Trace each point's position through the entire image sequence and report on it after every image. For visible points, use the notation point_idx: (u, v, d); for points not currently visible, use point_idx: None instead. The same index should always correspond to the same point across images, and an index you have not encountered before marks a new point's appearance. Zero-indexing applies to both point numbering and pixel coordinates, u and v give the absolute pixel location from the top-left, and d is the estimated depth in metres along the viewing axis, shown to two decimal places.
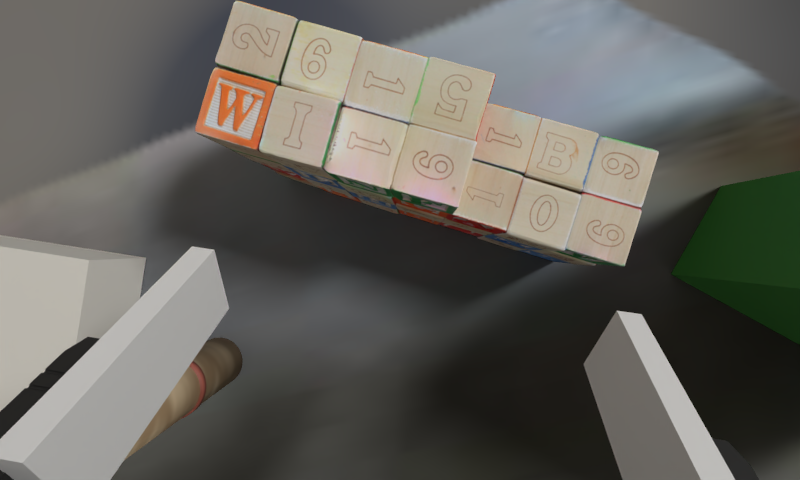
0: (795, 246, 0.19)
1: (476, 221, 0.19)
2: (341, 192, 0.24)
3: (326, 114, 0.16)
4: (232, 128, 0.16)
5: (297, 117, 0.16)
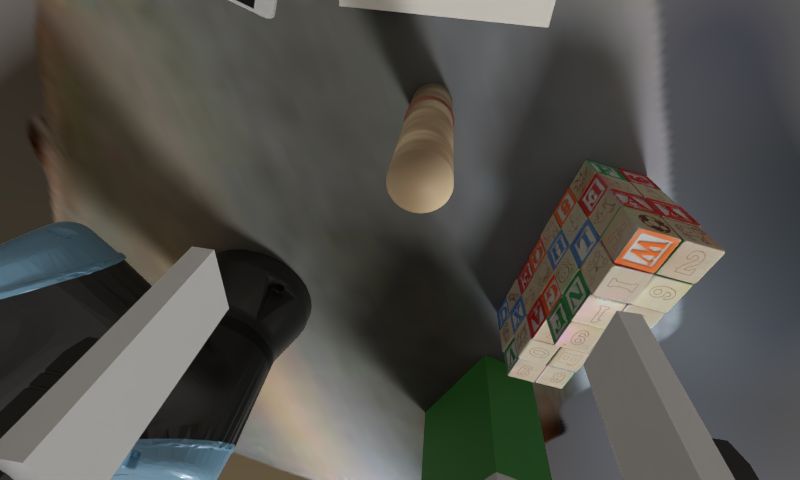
0: (506, 413, 0.45)
1: (540, 328, 0.34)
2: (567, 226, 0.34)
3: (624, 298, 0.27)
4: (633, 248, 0.25)
5: (627, 285, 0.27)
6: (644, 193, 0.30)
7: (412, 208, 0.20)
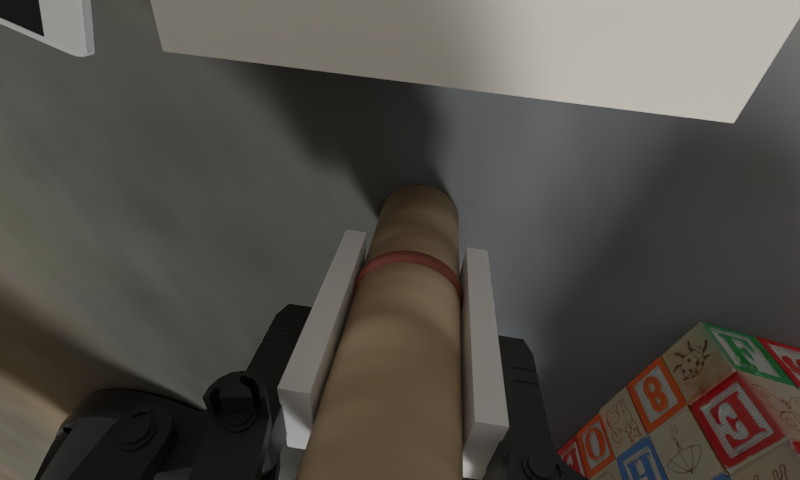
0: None
1: None
2: (665, 444, 0.18)
3: None
4: None
5: None
6: None
7: None
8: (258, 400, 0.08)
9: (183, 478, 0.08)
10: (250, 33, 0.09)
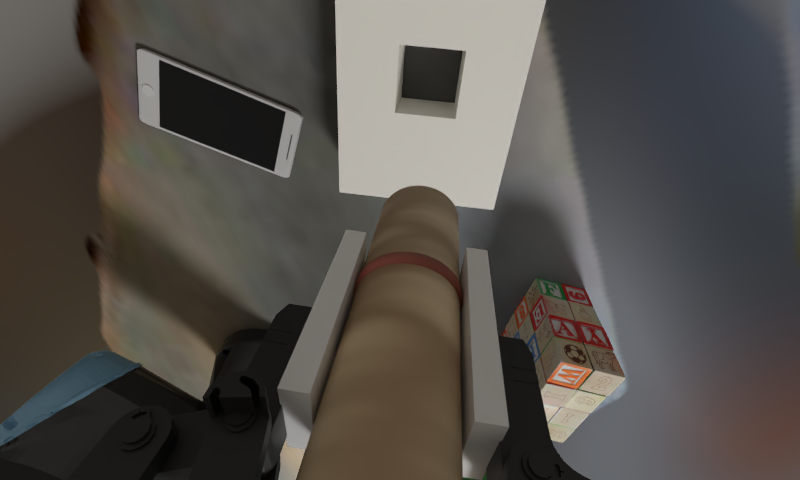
0: None
1: None
2: (522, 331, 0.43)
3: (557, 404, 0.36)
4: (559, 373, 0.34)
5: (558, 396, 0.35)
6: (576, 315, 0.39)
7: None
8: (258, 400, 0.08)
9: (183, 477, 0.08)
10: (365, 188, 0.33)
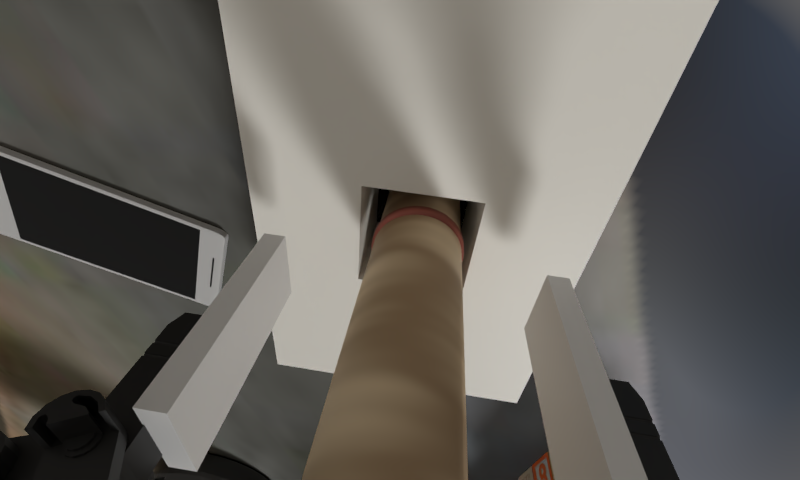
0: None
1: None
2: None
3: None
4: None
5: None
6: None
7: None
8: None
9: None
10: (316, 363, 0.21)
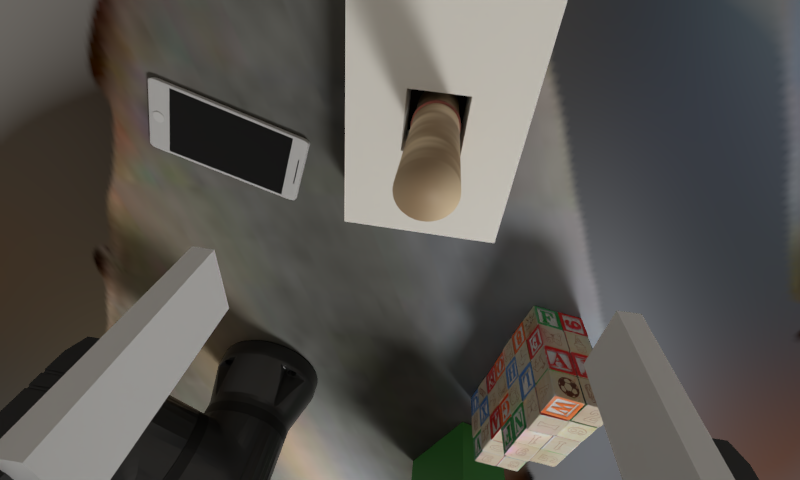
0: (477, 477, 0.55)
1: (496, 433, 0.45)
2: (518, 357, 0.44)
3: (550, 433, 0.37)
4: (553, 405, 0.35)
5: (551, 425, 0.37)
6: (571, 346, 0.40)
7: (418, 216, 0.20)
8: None
9: None
10: (369, 219, 0.34)
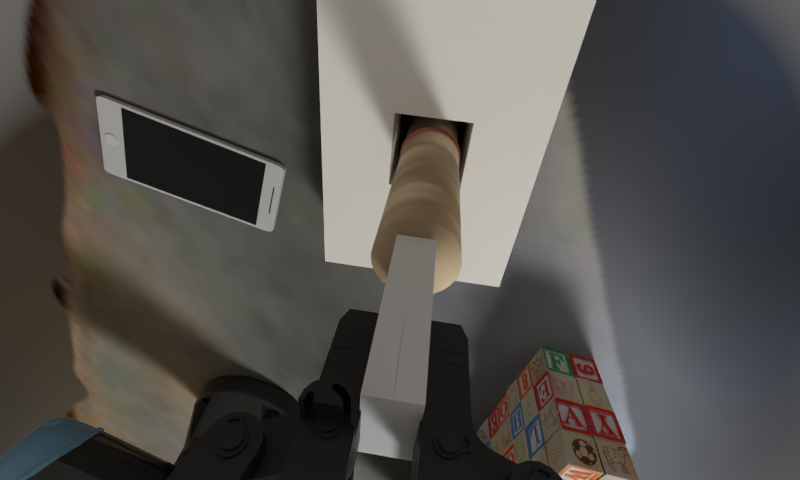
0: None
1: None
2: (524, 404, 0.39)
3: None
4: (566, 473, 0.31)
5: None
6: (585, 397, 0.35)
7: None
8: (345, 409, 0.08)
9: None
10: (354, 259, 0.29)
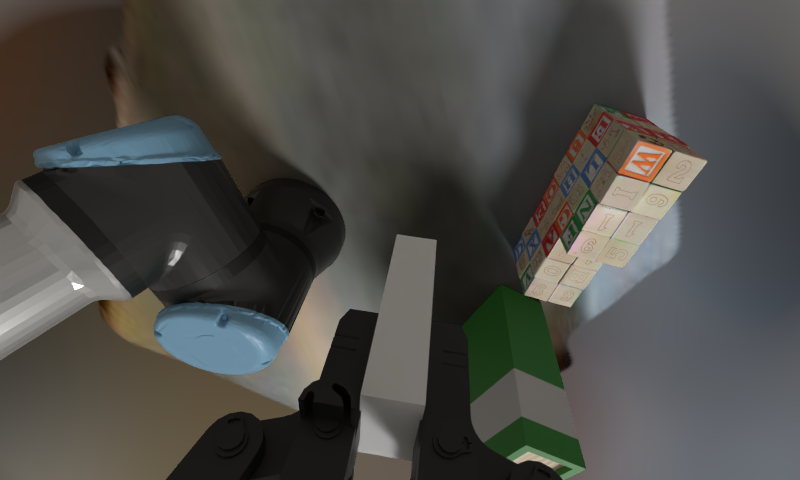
0: (521, 328, 0.50)
1: (553, 246, 0.40)
2: (578, 159, 0.40)
3: (626, 206, 0.33)
4: (634, 159, 0.31)
5: (628, 193, 0.33)
6: (643, 125, 0.36)
7: None
8: (345, 409, 0.08)
9: None
10: None
